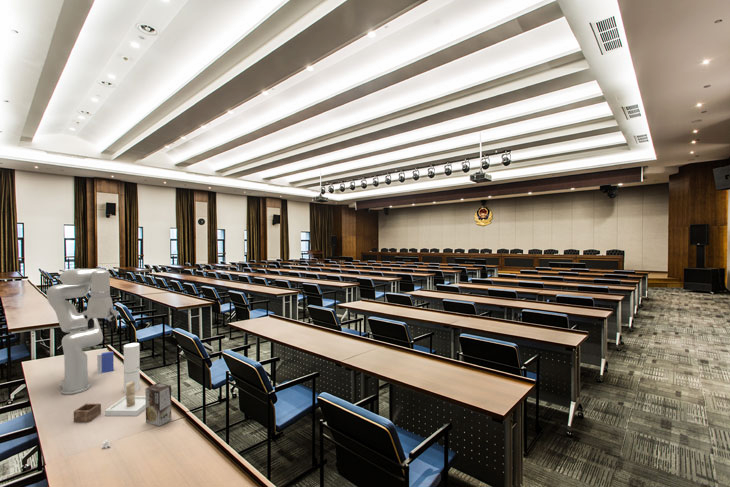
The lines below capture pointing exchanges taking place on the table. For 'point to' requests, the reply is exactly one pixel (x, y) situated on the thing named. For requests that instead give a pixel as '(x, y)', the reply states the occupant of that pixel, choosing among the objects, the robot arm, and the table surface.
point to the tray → (123, 410)
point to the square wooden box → (87, 412)
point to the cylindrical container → (132, 365)
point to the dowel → (130, 394)
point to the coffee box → (158, 404)
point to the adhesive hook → (106, 444)
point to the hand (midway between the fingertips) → (100, 328)
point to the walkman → (105, 362)
